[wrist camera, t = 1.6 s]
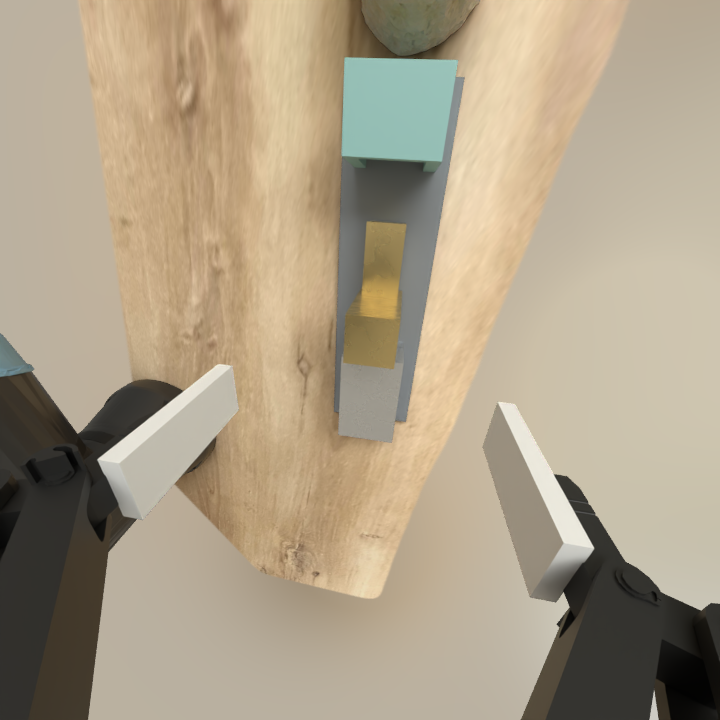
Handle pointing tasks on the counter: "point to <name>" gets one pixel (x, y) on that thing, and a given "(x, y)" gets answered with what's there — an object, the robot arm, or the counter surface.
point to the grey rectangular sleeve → (370, 399)
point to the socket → (396, 110)
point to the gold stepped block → (377, 299)
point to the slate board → (422, 214)
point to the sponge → (415, 22)
